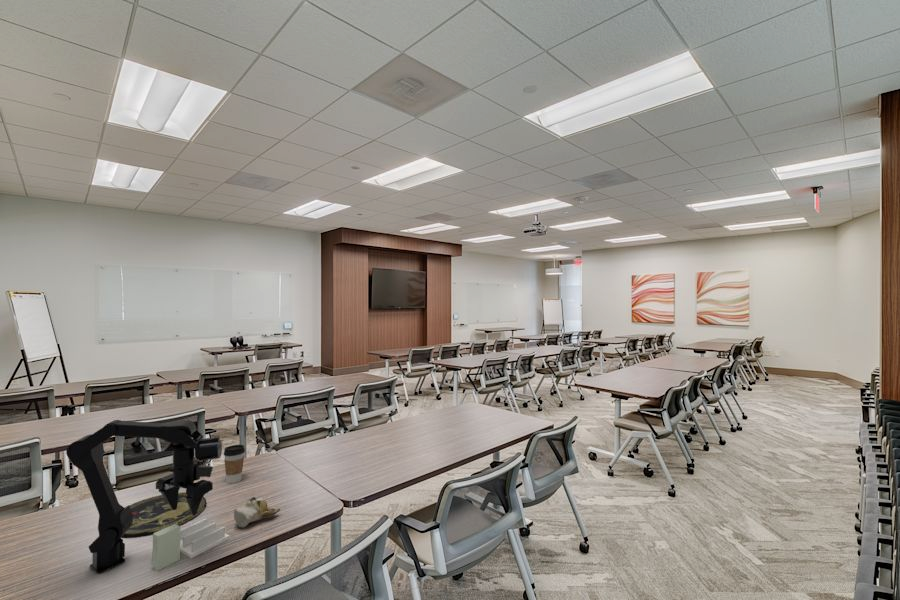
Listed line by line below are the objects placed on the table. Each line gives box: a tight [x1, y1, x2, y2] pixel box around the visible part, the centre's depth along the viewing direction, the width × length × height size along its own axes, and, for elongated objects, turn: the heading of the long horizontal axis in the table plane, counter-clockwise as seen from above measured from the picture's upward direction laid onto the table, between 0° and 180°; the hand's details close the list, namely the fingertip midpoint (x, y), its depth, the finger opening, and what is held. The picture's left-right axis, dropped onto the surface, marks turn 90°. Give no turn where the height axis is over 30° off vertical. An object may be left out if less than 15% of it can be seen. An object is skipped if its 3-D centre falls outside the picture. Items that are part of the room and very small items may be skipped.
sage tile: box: [151, 524, 181, 572], centre depth 118 cm, size 6×3×10 cm, turn 150°
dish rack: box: [180, 517, 230, 559], centre depth 129 cm, size 12×13×4 cm
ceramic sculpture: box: [233, 496, 281, 528], centre depth 142 cm, size 11×9×15 cm
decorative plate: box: [121, 491, 207, 539], centre depth 146 cm, size 30×2×30 cm
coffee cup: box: [223, 444, 246, 484], centre depth 175 cm, size 8×8×15 cm
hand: (184, 512), depth 124 cm, fingers open, 9 cm apart
